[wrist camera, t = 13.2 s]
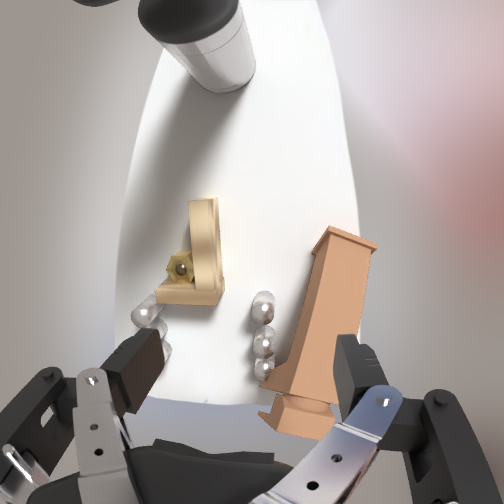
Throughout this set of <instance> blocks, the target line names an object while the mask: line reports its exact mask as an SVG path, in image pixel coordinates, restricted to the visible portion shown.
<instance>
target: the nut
mask: <svg viewBox="0 0 504 504" xmlns="http://www.w3.org/2000/svg"><path fill="white" fill-rule="evenodd" d="M166 271H167V272H168V273H169V275H170V276H171V278H172V279H173V281H174V282H175V283H191V282H192V281H193V280H194V279H195V275H194V266H193V256H192V251H178V252H176V253H175V254H174V255H172V256H171V259H170V261H169V264H168V266H167V268H166Z"/></svg>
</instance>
